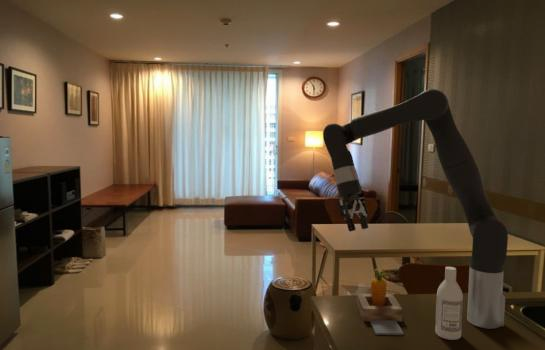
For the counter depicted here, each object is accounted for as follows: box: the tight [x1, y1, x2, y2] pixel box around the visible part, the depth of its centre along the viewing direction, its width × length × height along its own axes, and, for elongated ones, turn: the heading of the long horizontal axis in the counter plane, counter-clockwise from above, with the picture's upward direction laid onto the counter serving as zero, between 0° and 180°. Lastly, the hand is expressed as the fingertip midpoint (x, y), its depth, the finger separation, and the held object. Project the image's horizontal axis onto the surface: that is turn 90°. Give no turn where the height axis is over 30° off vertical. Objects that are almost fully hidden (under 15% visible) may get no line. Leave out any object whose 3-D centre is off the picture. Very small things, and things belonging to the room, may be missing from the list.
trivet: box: [369, 320, 404, 336], centre depth 123 cm, size 8×8×1 cm
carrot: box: [370, 268, 387, 306], centre depth 132 cm, size 5×5×15 cm
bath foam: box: [434, 266, 464, 341], centre depth 117 cm, size 7×7×20 cm
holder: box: [356, 293, 403, 323], centre depth 133 cm, size 12×12×4 cm
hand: (359, 229), depth 132 cm, fingers open, 8 cm apart
